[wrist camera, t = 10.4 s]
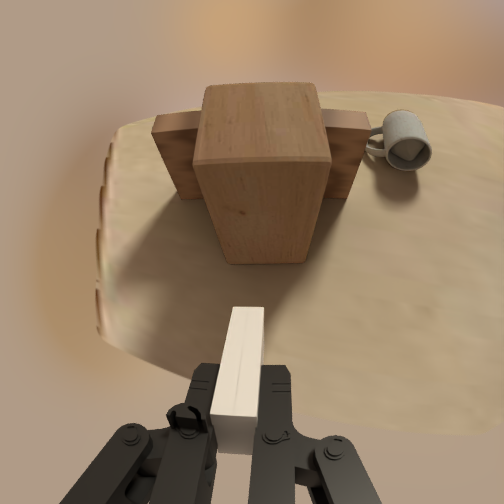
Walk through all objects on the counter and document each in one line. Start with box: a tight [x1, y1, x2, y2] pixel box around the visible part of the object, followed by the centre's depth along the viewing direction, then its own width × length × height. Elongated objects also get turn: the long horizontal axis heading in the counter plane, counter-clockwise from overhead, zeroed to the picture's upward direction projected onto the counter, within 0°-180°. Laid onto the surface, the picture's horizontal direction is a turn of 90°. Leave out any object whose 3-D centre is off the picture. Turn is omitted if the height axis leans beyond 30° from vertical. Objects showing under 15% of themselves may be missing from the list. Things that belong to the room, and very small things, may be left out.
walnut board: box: [151, 109, 372, 199], centre depth 36 cm, size 24×3×14 cm, turn 89°
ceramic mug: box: [365, 110, 432, 171], centre depth 41 cm, size 11×8×8 cm
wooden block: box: [192, 82, 332, 264], centre depth 31 cm, size 10×10×20 cm
